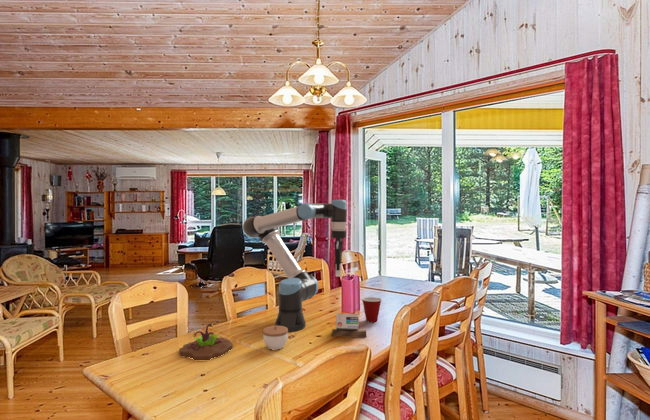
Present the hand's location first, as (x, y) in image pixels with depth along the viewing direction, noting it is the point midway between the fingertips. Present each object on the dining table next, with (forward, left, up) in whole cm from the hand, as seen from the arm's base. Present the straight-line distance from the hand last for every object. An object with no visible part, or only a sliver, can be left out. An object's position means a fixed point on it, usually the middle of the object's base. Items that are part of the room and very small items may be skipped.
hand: (338, 276), depth 184 cm
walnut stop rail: (+6, -15, -25) cm, 30 cm away
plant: (-53, -37, -26) cm, 70 cm away
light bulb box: (+5, -7, -22) cm, 24 cm away
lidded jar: (-25, -32, -25) cm, 48 cm away
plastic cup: (+17, +8, -25) cm, 31 cm away
